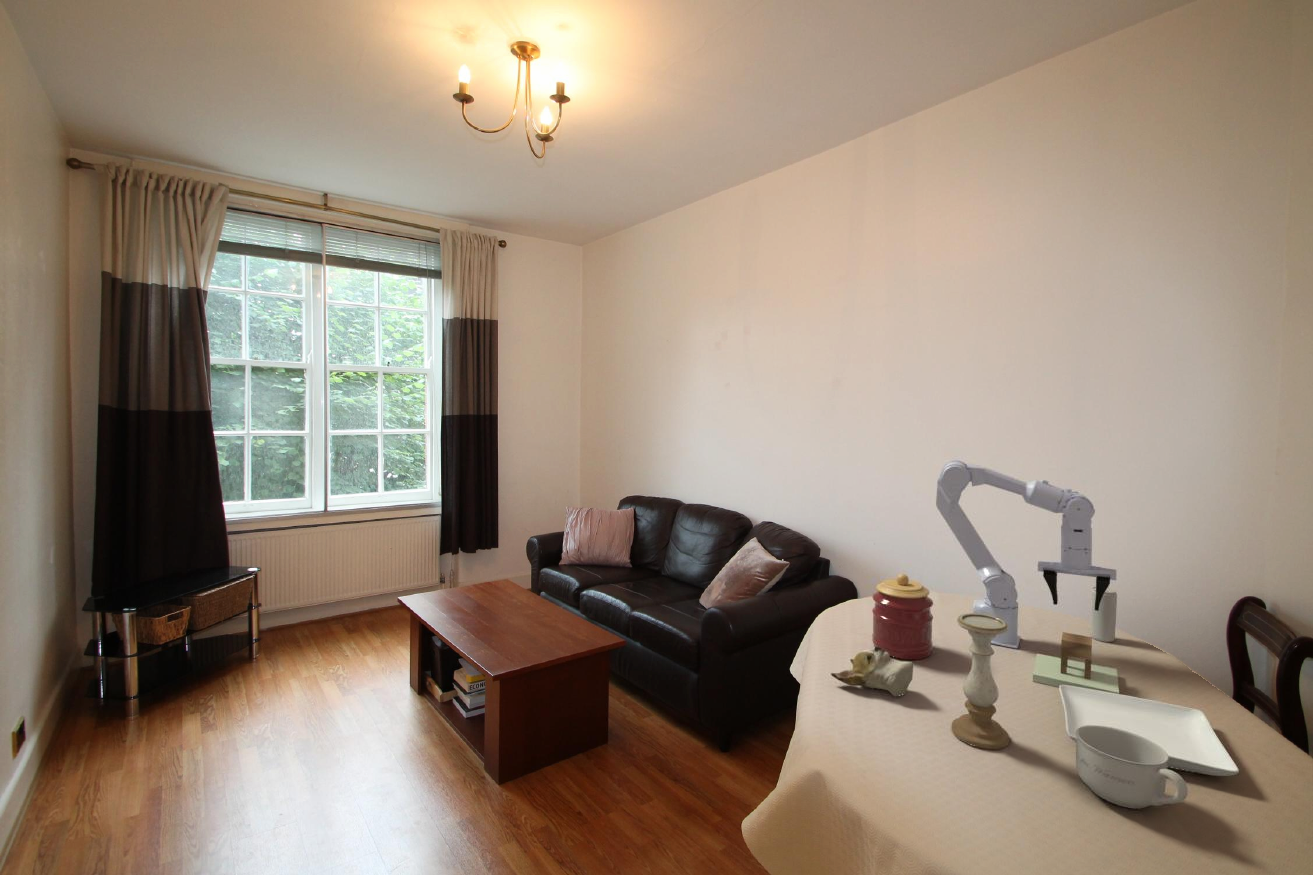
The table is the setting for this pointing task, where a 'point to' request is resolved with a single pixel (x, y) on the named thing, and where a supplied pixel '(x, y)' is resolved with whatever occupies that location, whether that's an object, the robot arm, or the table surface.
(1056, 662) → the sage green board
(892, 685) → the ceramic sculpture
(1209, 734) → the salad plate
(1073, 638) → the walnut stool
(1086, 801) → the table surface
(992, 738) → the candle holder
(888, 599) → the canister
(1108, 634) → the beverage can
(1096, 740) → the teacup
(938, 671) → the table surface
